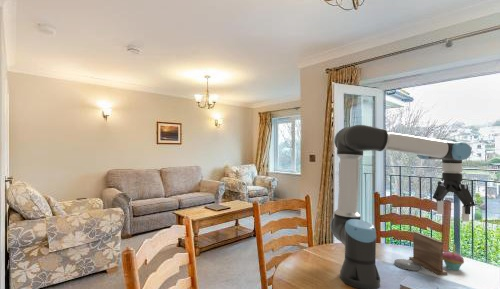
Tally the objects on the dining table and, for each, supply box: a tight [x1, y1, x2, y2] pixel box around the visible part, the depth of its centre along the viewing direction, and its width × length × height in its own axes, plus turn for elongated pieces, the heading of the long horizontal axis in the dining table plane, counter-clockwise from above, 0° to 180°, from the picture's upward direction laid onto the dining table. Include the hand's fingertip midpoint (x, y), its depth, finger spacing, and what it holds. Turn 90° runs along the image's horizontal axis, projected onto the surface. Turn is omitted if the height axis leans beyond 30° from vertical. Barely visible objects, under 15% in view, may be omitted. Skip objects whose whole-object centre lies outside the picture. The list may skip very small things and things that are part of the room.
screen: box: [408, 231, 448, 276], centre depth 122 cm, size 5×17×14 cm, turn 6°
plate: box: [394, 258, 423, 272], centre depth 122 cm, size 11×11×1 cm
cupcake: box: [443, 243, 465, 271], centre depth 121 cm, size 9×8×12 cm
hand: (452, 217), depth 122 cm, fingers open, 13 cm apart
